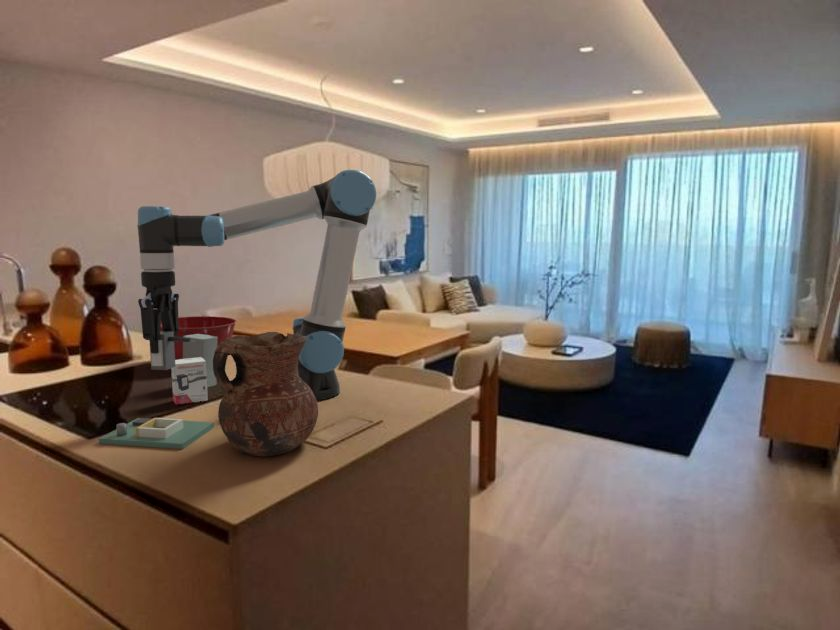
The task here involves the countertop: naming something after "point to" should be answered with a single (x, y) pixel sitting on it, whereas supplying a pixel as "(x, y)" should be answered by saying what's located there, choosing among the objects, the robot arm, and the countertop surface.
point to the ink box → (189, 380)
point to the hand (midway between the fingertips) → (163, 363)
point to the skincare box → (202, 353)
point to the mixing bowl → (203, 329)
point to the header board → (157, 433)
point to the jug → (264, 394)
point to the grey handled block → (168, 349)
